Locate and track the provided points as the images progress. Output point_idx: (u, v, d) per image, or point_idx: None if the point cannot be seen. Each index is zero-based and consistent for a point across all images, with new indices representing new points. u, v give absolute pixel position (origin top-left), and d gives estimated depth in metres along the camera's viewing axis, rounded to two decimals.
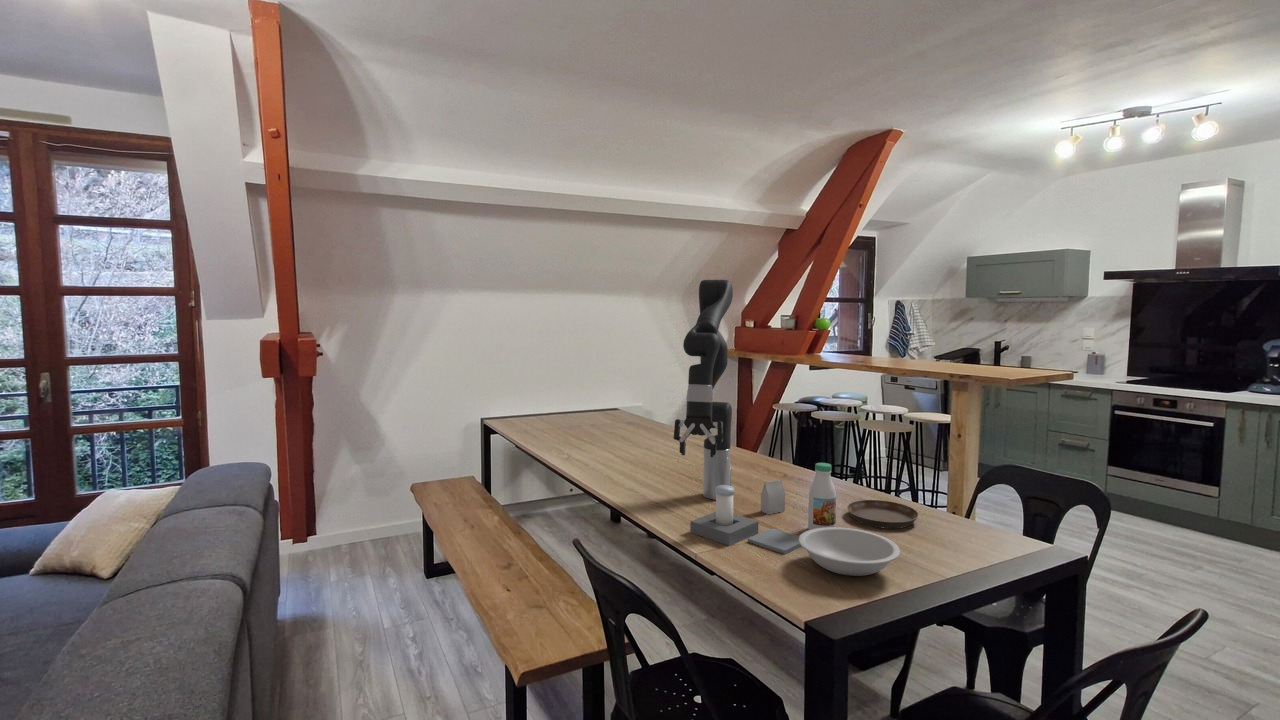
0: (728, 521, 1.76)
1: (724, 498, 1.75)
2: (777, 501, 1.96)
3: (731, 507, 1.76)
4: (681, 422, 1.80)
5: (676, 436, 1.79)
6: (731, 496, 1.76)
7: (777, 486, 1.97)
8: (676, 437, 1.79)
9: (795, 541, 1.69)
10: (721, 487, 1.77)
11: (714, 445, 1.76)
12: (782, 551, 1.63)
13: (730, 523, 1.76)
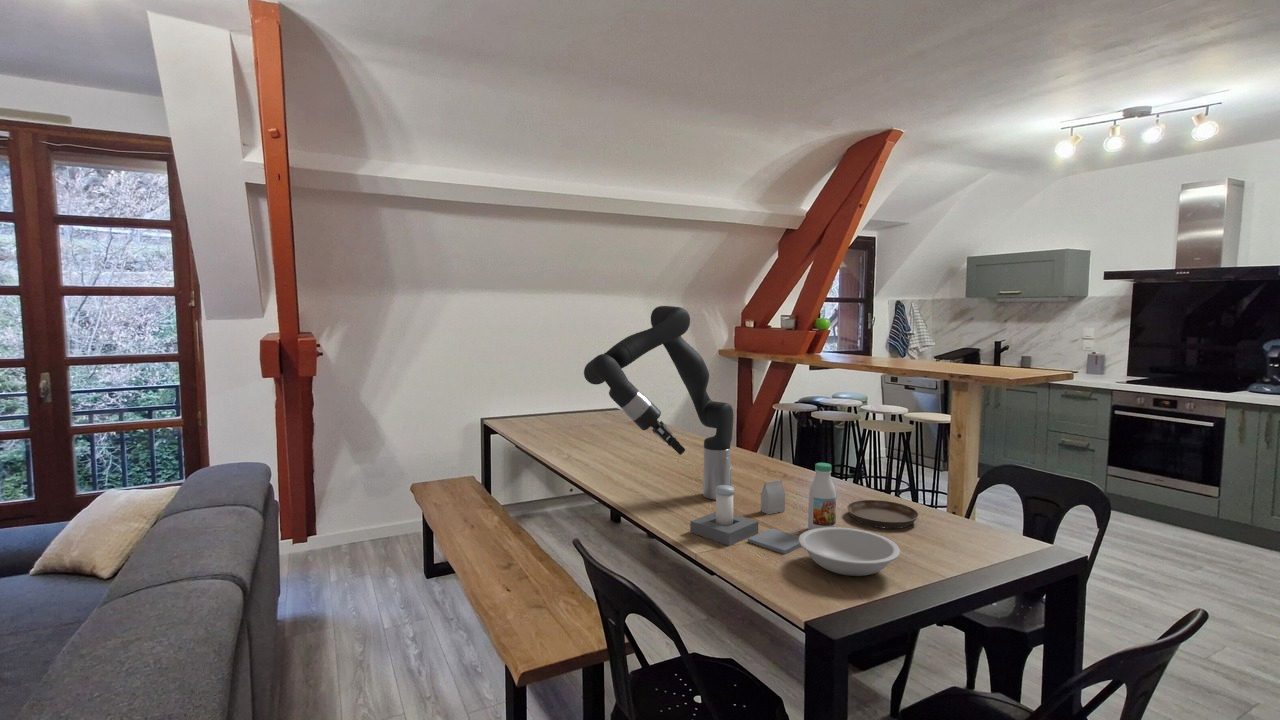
0: (728, 521, 1.76)
1: (724, 498, 1.75)
2: (777, 501, 1.96)
3: (731, 507, 1.76)
4: None
5: None
6: (731, 496, 1.76)
7: (777, 486, 1.97)
8: None
9: (795, 541, 1.69)
10: (721, 487, 1.77)
11: (673, 446, 1.70)
12: (782, 551, 1.63)
13: (730, 523, 1.76)
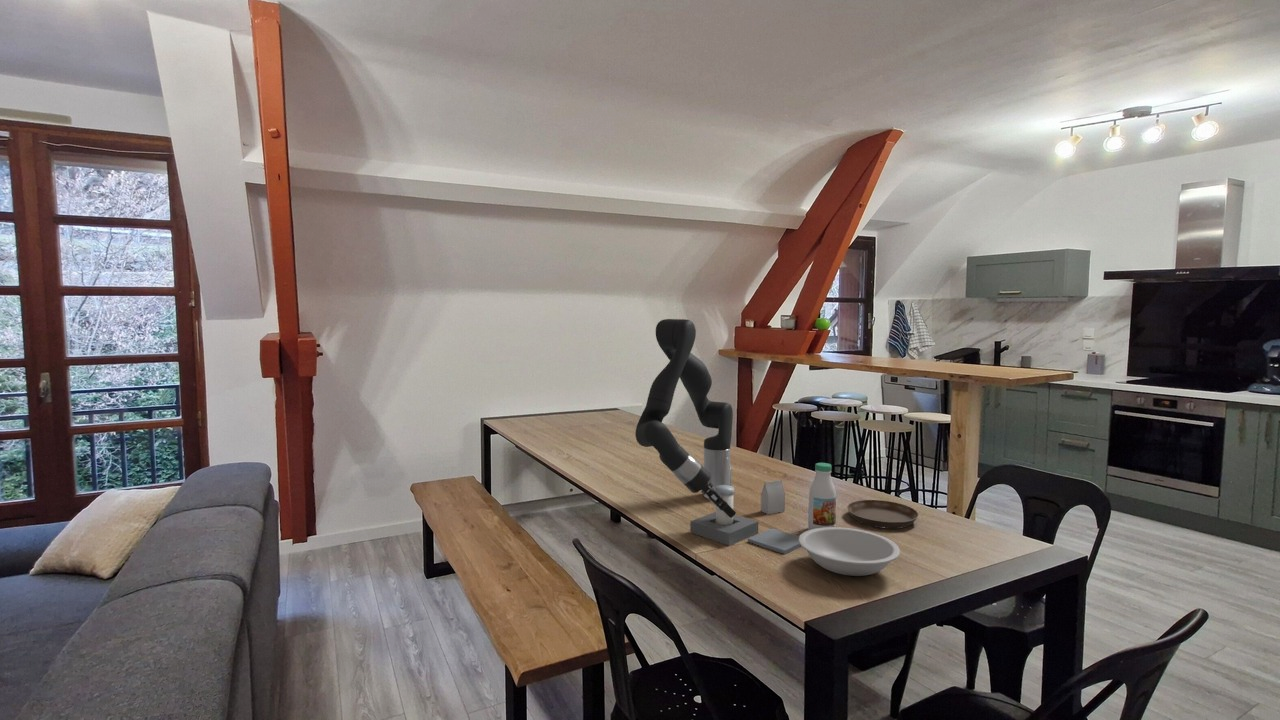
0: (728, 521, 1.76)
1: (724, 498, 1.75)
2: (777, 501, 1.96)
3: (731, 507, 1.76)
4: None
5: None
6: (731, 496, 1.76)
7: (777, 486, 1.97)
8: None
9: (795, 541, 1.69)
10: (721, 487, 1.77)
11: (724, 509, 1.74)
12: (782, 551, 1.63)
13: (730, 523, 1.76)
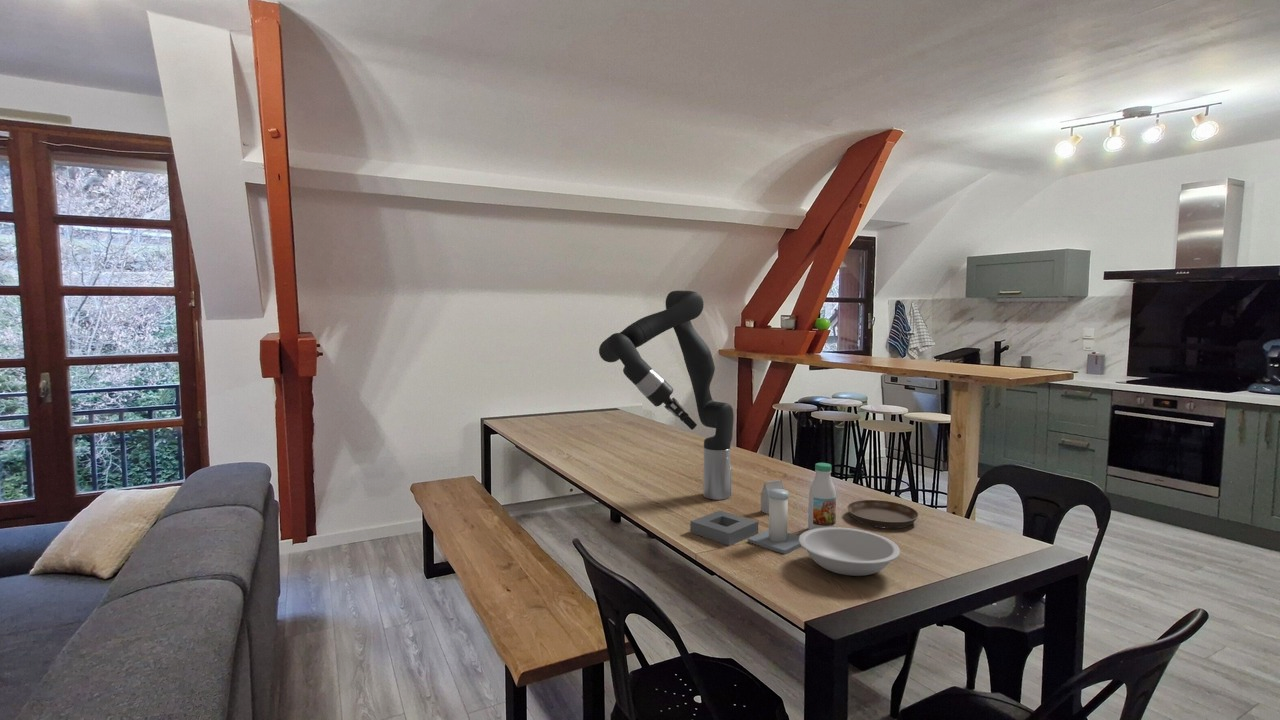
0: (783, 526, 1.68)
1: (779, 502, 1.68)
2: None
3: (786, 512, 1.69)
4: None
5: None
6: (786, 500, 1.68)
7: (777, 486, 1.97)
8: None
9: (795, 541, 1.69)
10: (775, 491, 1.70)
11: (685, 421, 1.77)
12: (782, 551, 1.63)
13: (785, 529, 1.69)
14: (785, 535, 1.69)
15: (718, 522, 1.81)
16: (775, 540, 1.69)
